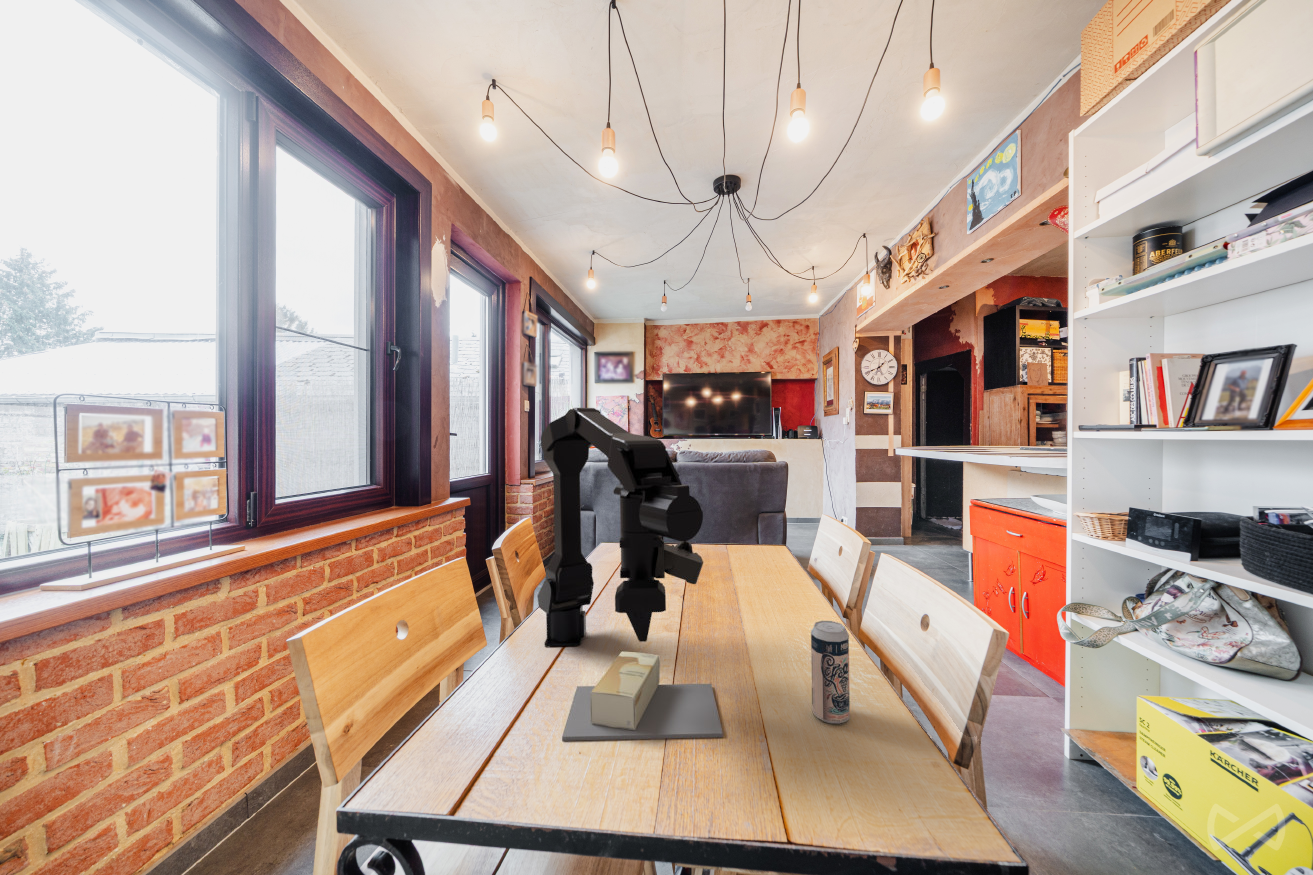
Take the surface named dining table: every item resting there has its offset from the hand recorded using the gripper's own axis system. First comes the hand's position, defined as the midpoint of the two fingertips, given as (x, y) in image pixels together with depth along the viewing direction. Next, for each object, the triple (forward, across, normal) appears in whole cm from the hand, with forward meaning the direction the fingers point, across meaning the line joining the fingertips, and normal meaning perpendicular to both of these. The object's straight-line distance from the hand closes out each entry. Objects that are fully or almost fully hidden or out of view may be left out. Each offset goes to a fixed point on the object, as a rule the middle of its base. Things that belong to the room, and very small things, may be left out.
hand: (642, 640), depth 68 cm
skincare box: (+6, +6, +1) cm, 9 cm away
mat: (+9, -2, 0) cm, 9 cm away
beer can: (+9, -4, -25) cm, 27 cm away
